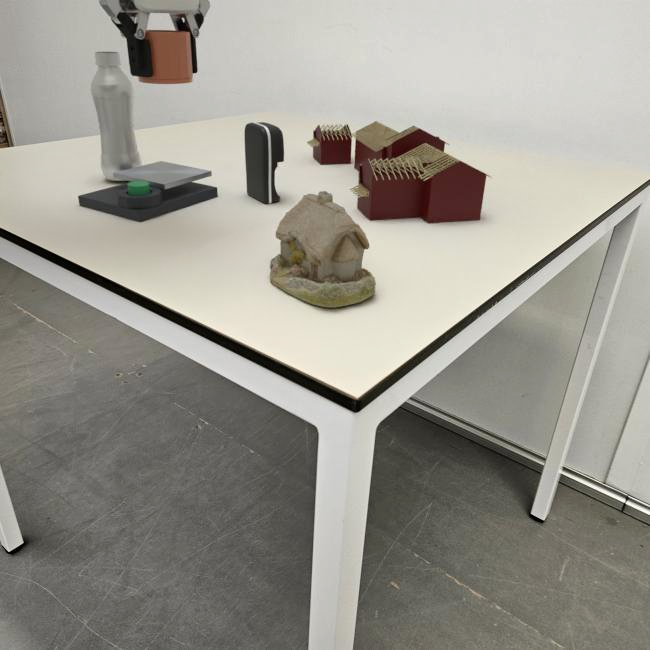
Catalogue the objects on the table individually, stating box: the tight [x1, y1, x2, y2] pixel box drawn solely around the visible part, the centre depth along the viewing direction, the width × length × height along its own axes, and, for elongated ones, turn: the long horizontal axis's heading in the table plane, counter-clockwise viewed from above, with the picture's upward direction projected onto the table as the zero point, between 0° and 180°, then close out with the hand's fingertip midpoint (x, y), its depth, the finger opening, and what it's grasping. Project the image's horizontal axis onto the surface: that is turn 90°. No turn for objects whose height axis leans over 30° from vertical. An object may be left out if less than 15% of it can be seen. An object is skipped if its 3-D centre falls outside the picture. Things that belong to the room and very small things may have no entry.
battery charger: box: [244, 121, 285, 204], centre depth 93 cm, size 7×4×11 cm, turn 33°
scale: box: [77, 181, 219, 223], centre depth 92 cm, size 16×13×3 cm
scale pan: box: [113, 160, 213, 189], centre depth 93 cm, size 10×11×1 cm
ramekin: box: [137, 29, 194, 85], centre depth 72 cm, size 6×6×6 cm
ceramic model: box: [269, 190, 377, 309], centre depth 65 cm, size 14×11×10 cm
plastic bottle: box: [90, 51, 143, 182], centre depth 98 cm, size 6×7×20 cm
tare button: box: [127, 181, 150, 196], centre depth 85 cm, size 3×3×2 cm
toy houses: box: [306, 120, 493, 224], centre depth 103 cm, size 45×20×10 cm, turn 14°
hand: (165, 73), depth 73 cm, fingers closed on ramekin, 6 cm apart
